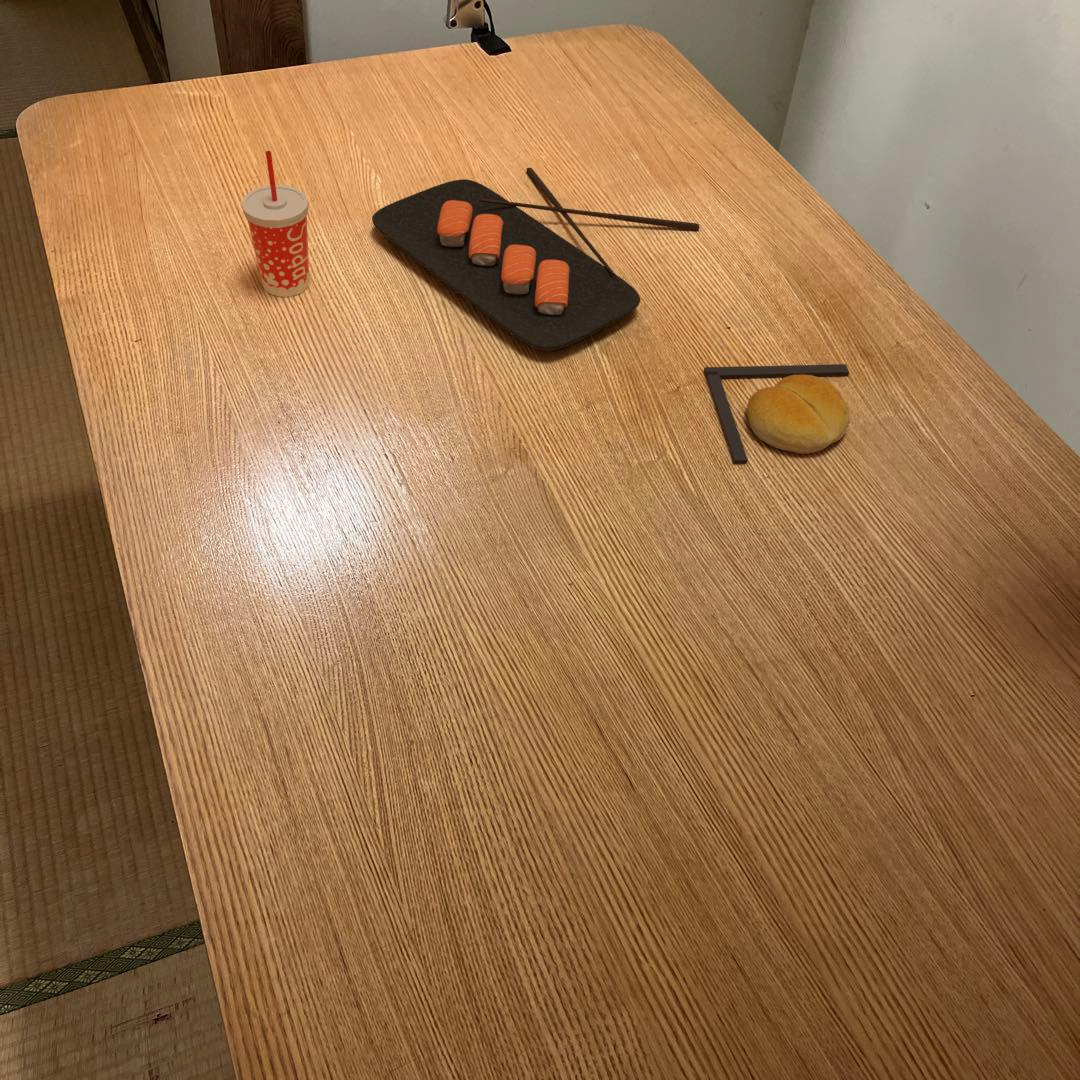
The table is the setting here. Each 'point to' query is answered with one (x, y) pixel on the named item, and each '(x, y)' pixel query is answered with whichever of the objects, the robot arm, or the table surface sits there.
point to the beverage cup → (279, 235)
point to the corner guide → (719, 373)
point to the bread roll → (799, 414)
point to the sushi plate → (512, 260)
